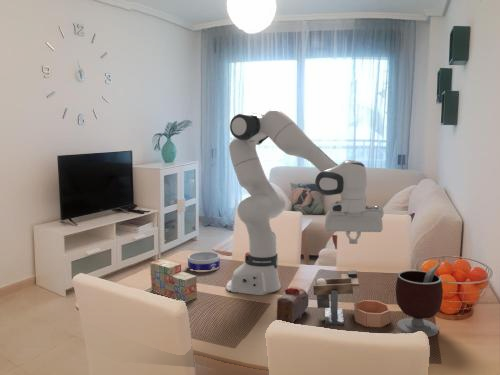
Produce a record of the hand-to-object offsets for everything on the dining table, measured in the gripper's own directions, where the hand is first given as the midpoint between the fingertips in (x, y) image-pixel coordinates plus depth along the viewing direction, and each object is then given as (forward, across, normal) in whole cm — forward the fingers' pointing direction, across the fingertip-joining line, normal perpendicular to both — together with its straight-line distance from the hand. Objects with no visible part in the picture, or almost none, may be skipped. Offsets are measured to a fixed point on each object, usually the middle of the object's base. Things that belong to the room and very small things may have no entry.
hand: (353, 243), depth 153 cm
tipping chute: (+18, +6, +7) cm, 20 cm away
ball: (+11, +11, +12) cm, 20 cm away
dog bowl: (+23, +67, -37) cm, 80 cm away
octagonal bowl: (+23, -6, +12) cm, 27 cm away
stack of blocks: (+23, +70, -1) cm, 73 cm away
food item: (+23, +21, +12) cm, 34 cm away
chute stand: (+23, +7, +12) cm, 27 cm away
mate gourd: (+23, -20, +16) cm, 35 cm away
